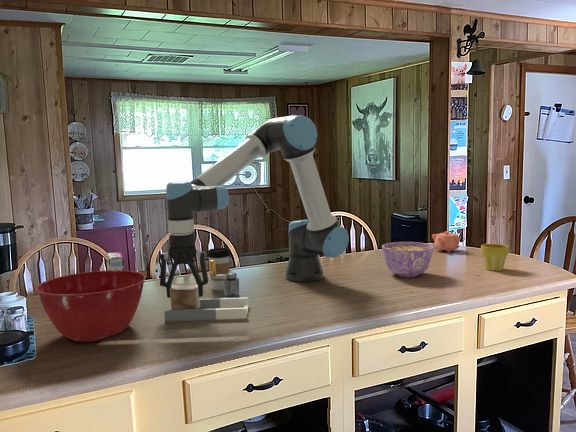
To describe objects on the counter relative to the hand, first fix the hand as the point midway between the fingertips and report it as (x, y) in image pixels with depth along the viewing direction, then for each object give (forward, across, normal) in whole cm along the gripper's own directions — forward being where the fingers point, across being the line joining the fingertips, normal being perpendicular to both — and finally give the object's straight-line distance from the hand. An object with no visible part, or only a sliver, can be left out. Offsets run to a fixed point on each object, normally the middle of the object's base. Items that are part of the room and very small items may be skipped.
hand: (185, 307), depth 155 cm
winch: (+3, -13, -14) cm, 19 cm away
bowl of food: (+4, -80, -45) cm, 92 cm away
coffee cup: (+4, -7, -33) cm, 34 cm away
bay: (+3, -7, 0) cm, 8 cm away
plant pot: (+4, -117, -50) cm, 127 cm away
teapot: (+4, -110, -90) cm, 142 cm away
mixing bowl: (+3, +23, +12) cm, 26 cm away
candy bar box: (+3, +27, -20) cm, 34 cm away
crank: (-5, -10, -14) cm, 18 cm away
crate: (+2, 0, 0) cm, 2 cm away
